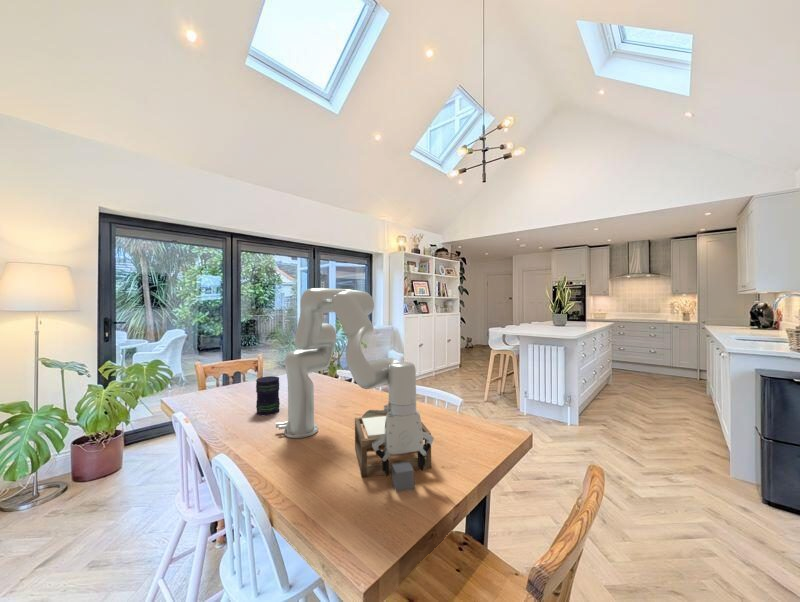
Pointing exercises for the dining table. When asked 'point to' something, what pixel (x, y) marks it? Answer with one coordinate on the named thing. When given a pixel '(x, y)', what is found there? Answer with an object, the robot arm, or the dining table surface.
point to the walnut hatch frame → (365, 444)
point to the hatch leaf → (374, 426)
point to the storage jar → (267, 395)
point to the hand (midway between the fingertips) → (403, 470)
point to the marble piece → (375, 413)
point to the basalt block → (402, 476)
